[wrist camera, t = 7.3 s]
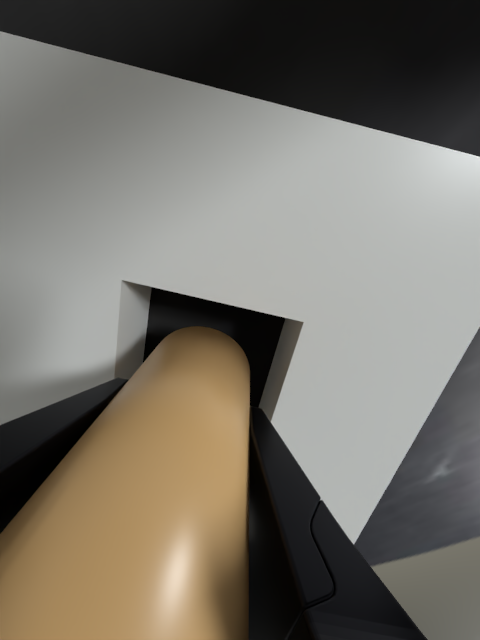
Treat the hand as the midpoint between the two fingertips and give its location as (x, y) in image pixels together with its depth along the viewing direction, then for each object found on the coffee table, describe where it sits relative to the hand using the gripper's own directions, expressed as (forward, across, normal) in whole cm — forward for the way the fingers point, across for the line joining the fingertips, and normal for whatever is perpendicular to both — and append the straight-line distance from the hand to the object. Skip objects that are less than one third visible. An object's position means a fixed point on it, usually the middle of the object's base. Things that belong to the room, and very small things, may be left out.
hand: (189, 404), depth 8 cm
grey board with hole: (+4, 0, +4) cm, 6 cm away
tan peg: (+2, 0, 0) cm, 2 cm away
